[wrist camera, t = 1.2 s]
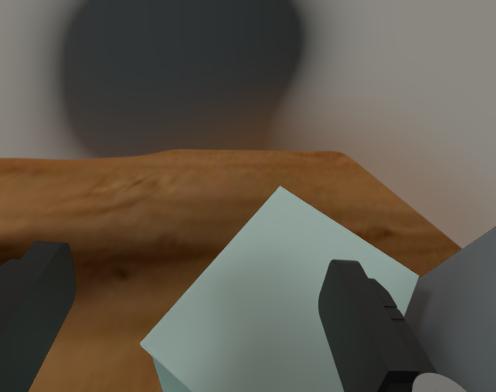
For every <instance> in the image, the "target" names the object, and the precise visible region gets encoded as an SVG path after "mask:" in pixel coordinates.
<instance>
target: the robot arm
mask: <svg viewBox="0 0 496 392" xmlns="http://www.w3.org/2000/svg"><path fill="white" fill-rule="evenodd" d="M75 291H76V282H75V276H74V270H73V263H72V257H71V251H70V246H69V245H68V243H63V242H46V241H36V242H34V243H33V244H32V245H31V246H30V248H29V249H28V250H27V251H26V252H25V254H24V255H23V256H22V257H21V259H10V260H9V261H7V262H6V263H4V264H2V265H1V266H0V392H28V391H29V389H30V387H31V385H32V383H33V381H34V379H35V377H36V375H37V373H38V371H39V369H40V367H41V365H42V363H43V361H44V359H45V357H46V355H47V354H48V352H49V350H50V348H51V346H52V344H53V342H54V340H55V338H56V336H57V334H58V332H59V330H60V328H61V326H62V324H63V322H64V320H65V318H66V316H67V314H68V312H69V310H70V308H71V306H72V304H73V301H74V297H75ZM318 311H319V316H320V319H321V322H322V325H323V328H324V332H325V335H326V338H327V341H328V344H329V347H330V350H331V353H332V356H333V359H334V362H335V365H336V368H337V371H338V375H339V378H340V381H341V384H342V387H343V390H344V392H467V391H466V390H465V389H463V388H462V387H461V386H460V385H458V384H457V383H456V382H454V381H452V380H451V379H449V378H447V377H445V376H442V375H439V374H438V373H437V371H436V370H435V368H434V366H433V365H432V363H431V361H430V360H429V358H428V356H427V355H426V353H425V351H424V350H423V348H422V346H421V345H420V343H419V341H418V340H417V338H416V336H415V335H414V333H413V331H412V330H411V328H410V326H409V325H408V323H407V322H405V318H404V317H403V315H402V313H401V312H400V310H399V309H397V305H396V303H395V302H394V300H393V298H392V297H391V295H390V293H389V292H388V291H387V290H386V289H385V288H384V287H383V286H382V285H381V284H380V283H379V282H378V281H377V280H375V279H374V278H368V277H367V275H366V273H365V271H364V269H363V268H362V266H361V264H360V263H359V262H358V261H356V260H339V259H333V260H331V261H330V263H329V266H328V269H327V272H326V275H325V278H324V281H323V285H322V288H321V291H320V294H319V298H318Z"/></svg>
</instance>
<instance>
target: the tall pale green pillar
mask: <svg viewBox="0 0 496 392" xmlns="http://www.w3.org/2000/svg"><path fill="white" fill-rule="evenodd" d="M333 259H339V260H356V261H358V262H359V263H360V264H361V266H362V268H363V269H364V271H365V273H366V275H367V277H368V278H374V279H375V280H377V281H378V282H379V283H380V284H381V285H382V286H383V287H384V288H385V289H386V290H387V291H388V292H389V293H390V295H391V297H392V298H393V300H394V302H395V303H396V305H397V309H399V310H400V312H401V313H402V315H403V317H404V315H405V312H406V310H407V307H408V304H409V302H410V299H411V296H412V294H413V291H414V288H415V286H416V283H417V280H418V278H419V276H418V275H417V274H415V273H414V272H412V271H411V270H409V269H408V268H406V267H405V266H403V265H401V264H400V263H398V262H397V261H395V260H394V259H392V258H391V257H389V256H388V255H386V254H384V253H383V252H381V251H380V250H378V249H377V248H375V247H374V246H372V245H371V244H369V243H367V242H366V241H364V240H363V239H361V238H360V237H358V236H357V235H355V234H354V233H352V232H350V231H349V230H347V229H346V228H344V227H343V226H341V225H340V224H338V223H337V222H335V221H333V220H332V219H330V218H329V217H327V216H326V215H324V214H323V213H321V212H320V211H318V210H316V209H315V208H313V207H312V206H310V205H309V204H307V203H306V202H304V201H303V200H301V199H299V198H298V197H296V196H295V195H293V194H292V193H290V192H289V191H287V190H286V189H284V188H282V187H281V186H280V187H279V188H278V189H277V190H276V191H275V192H274V193H273V194H272V196H271V197H270V198H269V199H268V200H267V201H266V202H265V203H264V205H263V206H262V207H261V208H260V209H259V210H258V211H257V212H256V214H255V215H254V216H253V217H252V218H251V219H250V220H249V221H248V223H247V224H246V225H245V226H244V227H243V228H242V229H241V230H240V231H239V233H238V234H237V235H236V236H235V237H234V238H233V239H232V240H231V242H230V243H229V244H228V245H227V246H226V247H225V248H224V249H223V251H222V252H221V253H220V254H219V255H218V256H217V257H216V258H215V260H214V261H213V262H212V263H211V264H210V265H209V266H208V267H207V269H206V270H205V271H204V272H203V273H202V274H201V275H200V276H199V278H198V279H197V280H196V281H195V282H194V283H193V284H192V285H191V286H190V288H189V289H188V290H187V291H186V292H185V293H184V294H183V295H182V297H181V298H180V299H179V300H178V301H177V302H176V303H175V304H174V306H173V307H172V308H171V309H170V310H169V311H168V312H167V313H166V315H165V316H164V317H163V318H162V319H161V320H160V321H159V322H158V324H157V325H156V326H155V327H154V328H153V329H152V330H151V331H150V333H149V334H148V335H147V336H146V337H145V338H144V339H143V340H142V342H141V343H140V345H141V347H143V348H144V349H145V350H146V351H147V352H148V353H149V354H150V355H151V356H152V358H153V361H154V364H155V367H156V370H157V374H158V377H159V380H160V383H161V387H162V390H163V392H344V390H343V387H342V384H341V381H340V378H339V375H338V371H337V368H336V365H335V362H334V359H333V356H332V353H331V350H330V347H329V344H328V341H327V338H326V335H325V332H324V328H323V325H322V322H321V319H320V316H319V311H318V298H319V294H320V291H321V288H322V285H323V281H324V278H325V275H326V272H327V269H328V266H329V263H330V261H331V260H333Z"/></svg>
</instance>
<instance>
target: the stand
mask: <svg viewBox="0 0 496 392" xmlns="http://www.w3.org/2000/svg"><path fill="white" fill-rule="evenodd" d="M404 318H405V322H407V323H408V325H409V326H410V328H411V330H412V331H413V333H414V335H415V336H416V338H417V340H418V341H419V343H420V345H421V346H422V348H423V350H424V351H425V353H426V355H427V356H428V358H429V360H430V361H431V363H432V365H433V366H434V368H435V370H436V371H437V373H438V374H439V375H442V376H445V377H447V378H449V379H451V380H452V381H454V382H456V383H457V384H458V385H460V386H461V387H462V388H463V389H465V390H466V391H467V392H496V226H495V227H494V228H492V229H491V230H490V231H488V232H487V233H485V234H484V235H482V236H481V237H479V238H478V239H476V240H475V241H474V242H472V243H471V244H469V245H468V246H466V247H465V248H463V249H462V250H460V251H459V252H457V253H456V254H454V255H453V256H452V257H450V258H449V259H447V260H446V261H444V262H443V263H441V264H440V265H438V266H437V267H435V268H434V269H433V270H431V271H430V272H428V273H427V274H425V275H424V276H422V277H421V278H419V279H418V280H417V283H416V286H415V288H414V291H413V294H412V296H411V299H410V302H409V304H408V307H407V310H406V312H405V315H404Z"/></svg>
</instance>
